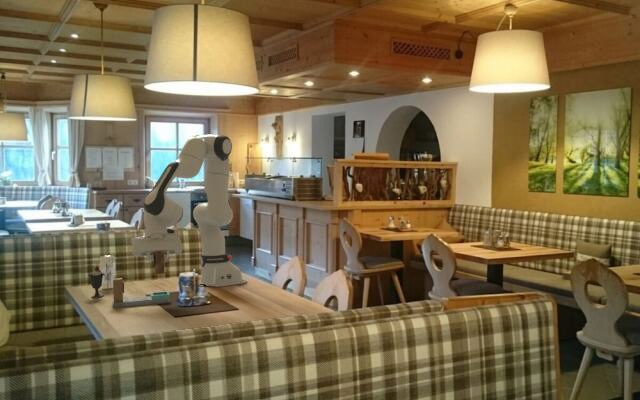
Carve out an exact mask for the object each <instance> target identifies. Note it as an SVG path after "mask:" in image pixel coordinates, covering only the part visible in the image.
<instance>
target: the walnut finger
mask: <svg viewBox="0 0 640 400" xmlns="http://www.w3.org/2000/svg"><path fill="white" fill-rule="evenodd" d="M153 257H154V263H152V264H153V266H154V274H155V275H164V274H165V262H164V257H165V255H164V251H155V255H152V258H153Z"/></svg>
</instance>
